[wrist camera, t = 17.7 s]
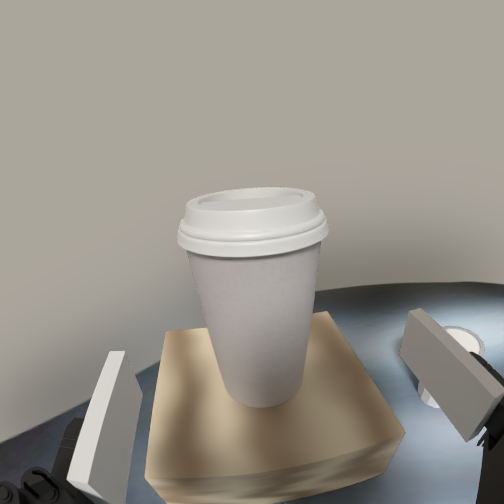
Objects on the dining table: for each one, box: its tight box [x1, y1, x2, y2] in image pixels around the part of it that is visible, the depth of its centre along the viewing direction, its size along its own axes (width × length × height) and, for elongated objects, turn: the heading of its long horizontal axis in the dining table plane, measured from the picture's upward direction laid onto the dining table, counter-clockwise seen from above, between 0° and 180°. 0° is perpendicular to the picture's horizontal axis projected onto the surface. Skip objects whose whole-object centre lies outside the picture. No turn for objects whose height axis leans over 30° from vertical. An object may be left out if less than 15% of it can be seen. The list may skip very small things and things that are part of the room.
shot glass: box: [418, 326, 485, 408], centre depth 25 cm, size 7×7×7 cm
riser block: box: [145, 311, 406, 504], centre depth 25 cm, size 18×18×7 cm
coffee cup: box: [177, 187, 329, 408], centre depth 21 cm, size 10×10×15 cm
